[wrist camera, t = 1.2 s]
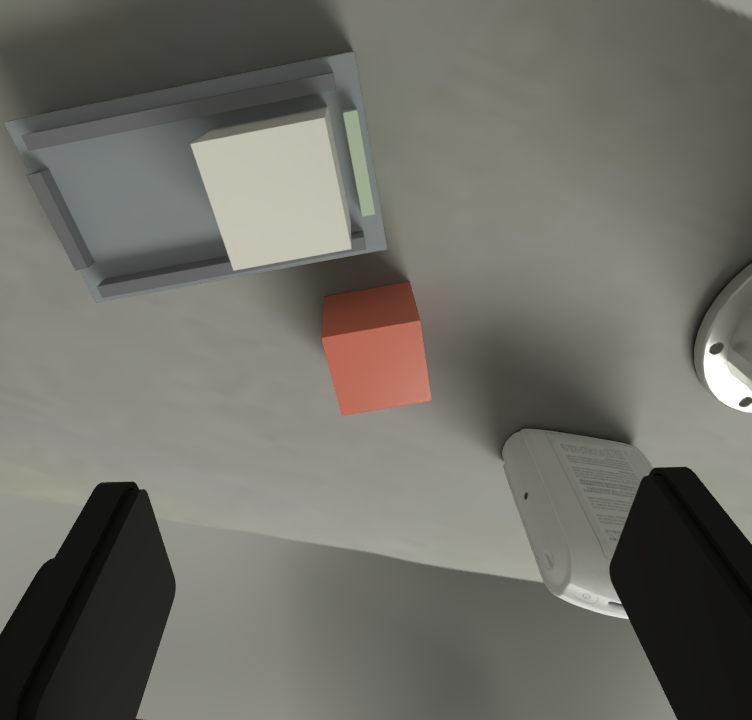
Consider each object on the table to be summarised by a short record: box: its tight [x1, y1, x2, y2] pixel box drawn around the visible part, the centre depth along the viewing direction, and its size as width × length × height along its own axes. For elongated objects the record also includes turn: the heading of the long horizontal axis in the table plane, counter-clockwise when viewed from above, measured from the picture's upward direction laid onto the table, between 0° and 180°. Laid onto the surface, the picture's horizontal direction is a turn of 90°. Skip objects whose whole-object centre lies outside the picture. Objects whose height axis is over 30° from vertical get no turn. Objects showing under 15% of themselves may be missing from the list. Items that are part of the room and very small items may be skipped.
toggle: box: [190, 106, 352, 271], centre depth 22 cm, size 5×5×4 cm
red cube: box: [321, 281, 432, 416], centre depth 29 cm, size 5×5×5 cm
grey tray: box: [4, 51, 387, 303], centre depth 24 cm, size 15×8×4 cm, turn 100°
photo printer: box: [502, 429, 654, 619], centre depth 32 cm, size 10×4×12 cm, turn 77°
